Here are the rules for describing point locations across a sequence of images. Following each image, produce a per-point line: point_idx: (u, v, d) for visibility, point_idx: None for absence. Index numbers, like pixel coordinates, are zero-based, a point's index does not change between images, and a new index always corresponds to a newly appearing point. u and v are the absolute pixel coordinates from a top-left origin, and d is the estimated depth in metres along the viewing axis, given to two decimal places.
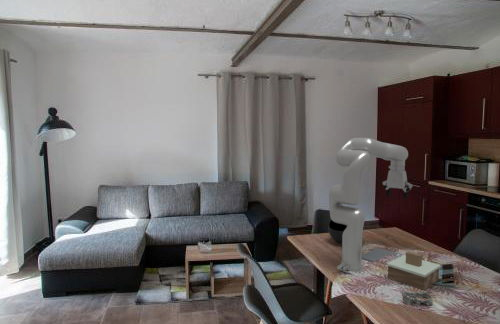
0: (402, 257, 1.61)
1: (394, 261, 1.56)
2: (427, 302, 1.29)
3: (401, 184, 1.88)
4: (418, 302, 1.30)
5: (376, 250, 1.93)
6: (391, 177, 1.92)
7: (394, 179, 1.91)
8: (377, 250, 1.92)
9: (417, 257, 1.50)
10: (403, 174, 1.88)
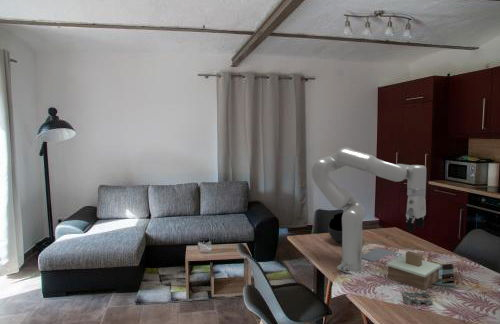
0: (402, 257, 1.61)
1: (394, 261, 1.56)
2: (427, 301, 1.30)
3: (424, 210, 1.52)
4: (418, 302, 1.31)
5: (376, 250, 1.93)
6: (420, 205, 1.48)
7: (421, 206, 1.49)
8: (377, 250, 1.92)
9: (417, 257, 1.50)
10: None
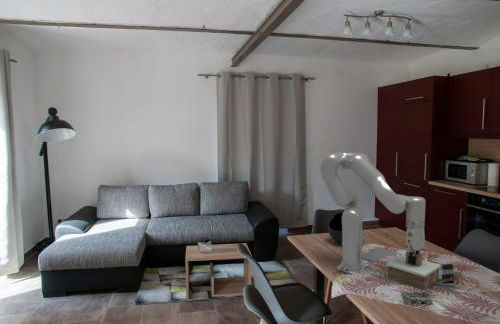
0: (402, 257, 1.61)
1: (394, 261, 1.56)
2: (427, 301, 1.30)
3: (423, 241, 1.53)
4: (419, 301, 1.31)
5: (376, 250, 1.93)
6: (418, 237, 1.48)
7: (420, 238, 1.50)
8: (377, 250, 1.92)
9: (417, 257, 1.50)
10: None
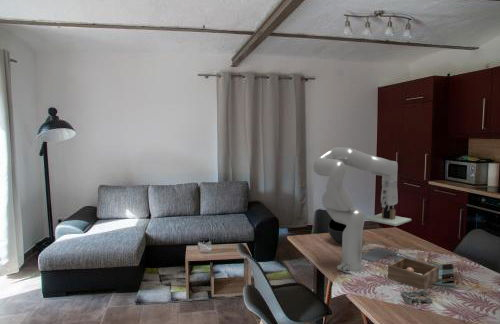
0: (380, 214, 1.88)
1: (372, 216, 1.83)
2: (427, 300, 1.31)
3: (396, 199, 1.80)
4: (419, 301, 1.31)
5: (376, 250, 1.93)
6: (392, 194, 1.75)
7: (393, 195, 1.77)
8: (377, 250, 1.92)
9: (391, 211, 1.77)
10: None
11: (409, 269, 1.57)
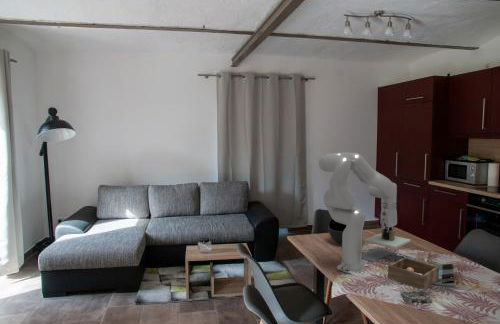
0: (379, 234, 1.89)
1: (372, 237, 1.84)
2: (427, 300, 1.31)
3: (396, 220, 1.81)
4: (419, 301, 1.32)
5: (376, 250, 1.93)
6: (391, 216, 1.76)
7: (393, 217, 1.78)
8: (377, 250, 1.92)
9: (390, 233, 1.78)
10: None
11: (409, 269, 1.57)
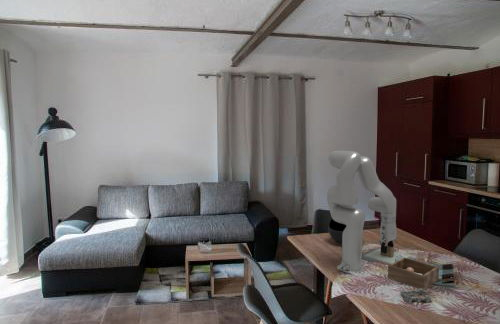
0: (378, 250, 1.90)
1: (371, 253, 1.85)
2: (427, 299, 1.32)
3: (395, 234, 1.81)
4: (419, 300, 1.32)
5: None
6: (390, 230, 1.77)
7: (392, 231, 1.78)
8: None
9: (389, 249, 1.79)
10: None
11: (409, 269, 1.57)
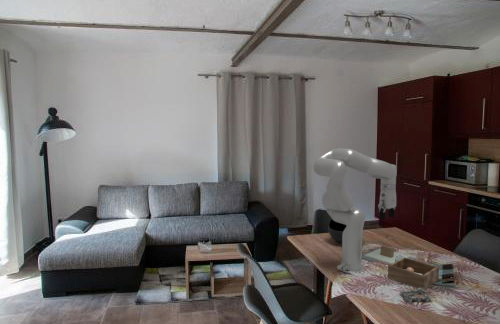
0: (378, 250, 1.90)
1: (371, 253, 1.85)
2: (427, 299, 1.32)
3: (395, 202, 1.80)
4: (419, 300, 1.32)
5: None
6: (390, 197, 1.76)
7: (392, 199, 1.77)
8: None
9: (389, 249, 1.79)
10: None
11: (409, 269, 1.57)
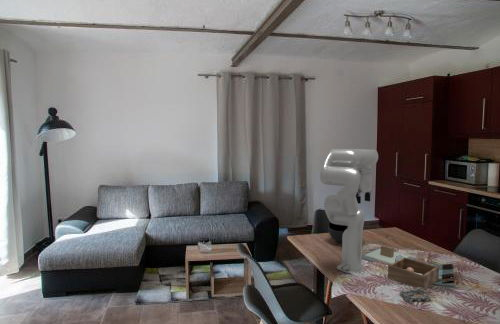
0: (378, 250, 1.90)
1: (371, 253, 1.85)
2: (427, 298, 1.33)
3: (370, 186, 1.85)
4: (419, 300, 1.32)
5: None
6: (365, 181, 1.80)
7: (367, 183, 1.82)
8: None
9: (389, 249, 1.79)
10: None
11: (409, 269, 1.57)
